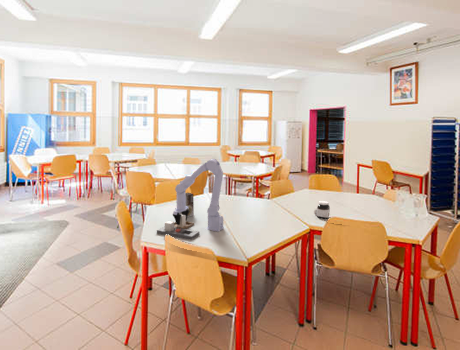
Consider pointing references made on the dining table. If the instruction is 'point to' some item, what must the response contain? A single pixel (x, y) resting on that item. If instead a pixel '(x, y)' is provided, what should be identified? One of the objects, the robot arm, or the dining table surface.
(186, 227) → the tray
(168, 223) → the seated plug
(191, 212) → the coffee box
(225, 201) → the dining table surface
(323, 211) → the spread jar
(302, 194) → the dining table surface
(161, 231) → the power strip
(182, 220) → the white plug
